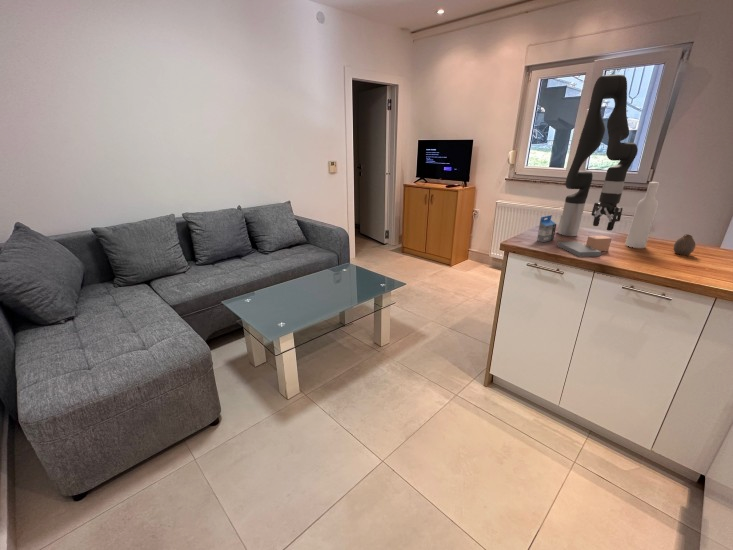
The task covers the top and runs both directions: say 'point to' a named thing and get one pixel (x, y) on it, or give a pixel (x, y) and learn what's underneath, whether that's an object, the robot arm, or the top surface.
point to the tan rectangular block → (599, 242)
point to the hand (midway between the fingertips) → (602, 228)
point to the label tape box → (546, 229)
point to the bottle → (643, 218)
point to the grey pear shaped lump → (684, 245)
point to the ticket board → (579, 249)
